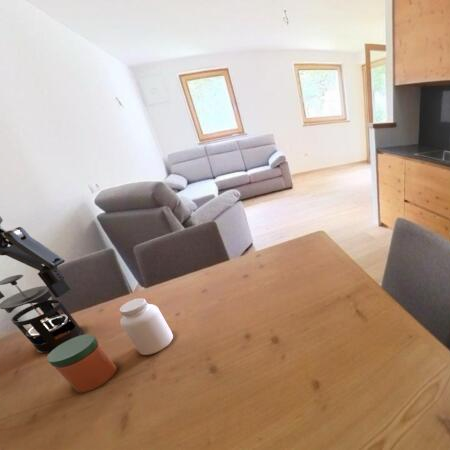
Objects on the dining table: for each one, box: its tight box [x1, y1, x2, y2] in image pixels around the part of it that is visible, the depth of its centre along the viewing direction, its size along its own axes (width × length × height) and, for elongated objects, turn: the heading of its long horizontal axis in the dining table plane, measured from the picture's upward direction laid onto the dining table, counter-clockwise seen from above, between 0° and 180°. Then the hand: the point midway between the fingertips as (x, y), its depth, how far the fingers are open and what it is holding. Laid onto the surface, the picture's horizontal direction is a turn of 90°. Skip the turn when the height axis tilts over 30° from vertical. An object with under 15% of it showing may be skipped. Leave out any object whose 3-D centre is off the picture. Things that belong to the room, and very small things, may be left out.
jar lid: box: [46, 333, 99, 368], centre depth 66 cm, size 8×8×2 cm
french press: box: [0, 274, 85, 355], centre depth 78 cm, size 12×9×23 cm
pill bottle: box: [119, 297, 174, 356], centre depth 77 cm, size 8×8×15 cm
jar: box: [54, 342, 117, 393], centre depth 69 cm, size 8×8×10 cm
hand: (30, 297), depth 62 cm, fingers open, 13 cm apart
